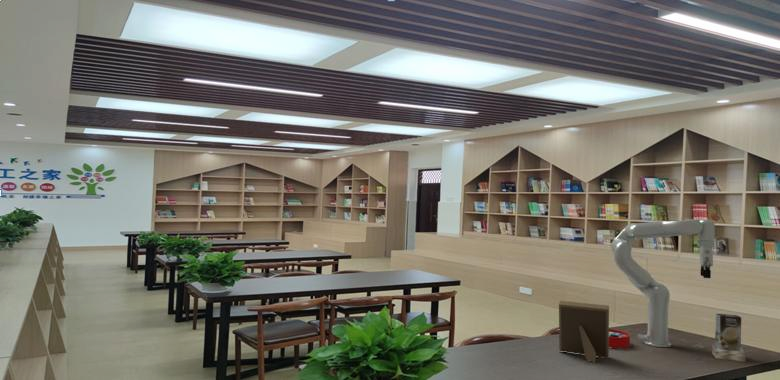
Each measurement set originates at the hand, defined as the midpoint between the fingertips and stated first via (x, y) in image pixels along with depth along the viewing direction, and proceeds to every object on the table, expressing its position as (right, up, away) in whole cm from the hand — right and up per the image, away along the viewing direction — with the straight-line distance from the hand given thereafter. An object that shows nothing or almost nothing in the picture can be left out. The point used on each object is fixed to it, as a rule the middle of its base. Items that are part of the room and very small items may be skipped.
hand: (705, 277), depth 272 cm
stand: (0, -36, -18) cm, 40 cm away
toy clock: (-49, -35, +2) cm, 61 cm away
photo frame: (-73, -34, -25) cm, 84 cm away
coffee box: (0, -32, -17) cm, 36 cm away
